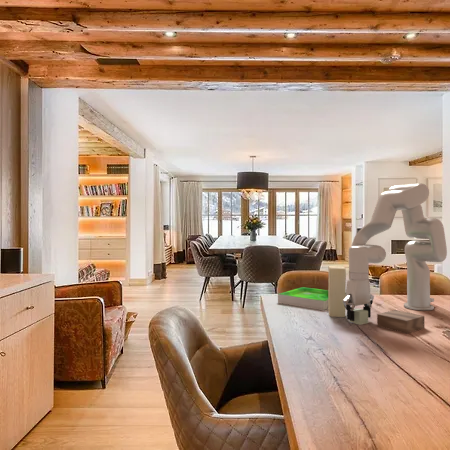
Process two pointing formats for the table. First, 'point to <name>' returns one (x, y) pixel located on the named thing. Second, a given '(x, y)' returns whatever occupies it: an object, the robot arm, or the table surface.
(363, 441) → the table surface
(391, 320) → the walnut block
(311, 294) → the tray
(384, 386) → the table surface
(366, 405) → the table surface
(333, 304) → the tall beige block
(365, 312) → the cream cube
